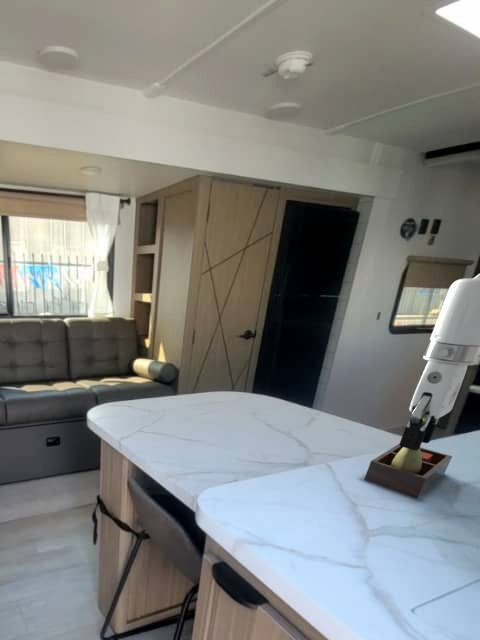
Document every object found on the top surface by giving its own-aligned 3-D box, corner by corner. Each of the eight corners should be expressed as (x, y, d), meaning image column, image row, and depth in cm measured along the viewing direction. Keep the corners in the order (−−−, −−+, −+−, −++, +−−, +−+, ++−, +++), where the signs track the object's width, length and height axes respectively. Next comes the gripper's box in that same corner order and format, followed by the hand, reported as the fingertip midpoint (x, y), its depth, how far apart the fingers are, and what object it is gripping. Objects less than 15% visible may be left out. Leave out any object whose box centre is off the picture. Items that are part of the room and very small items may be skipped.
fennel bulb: (402, 467, 87) (423, 414, 82) (424, 478, 83) (448, 423, 78) (381, 470, 85) (401, 417, 80) (403, 481, 81) (426, 425, 76)
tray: (394, 459, 96) (401, 441, 94) (444, 474, 90) (452, 456, 88) (363, 480, 86) (370, 460, 84) (416, 499, 79) (425, 478, 77)
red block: (405, 464, 93) (411, 448, 91) (425, 471, 90) (433, 454, 88) (398, 469, 90) (405, 452, 89) (420, 475, 87) (427, 459, 86)
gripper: (464, 361, 66) (422, 461, 74) (488, 352, 76) (448, 441, 84) (411, 354, 71) (376, 447, 79) (439, 346, 81) (407, 430, 89)
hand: (414, 443), depth 81 cm, fingers closed on fennel bulb, 5 cm apart
